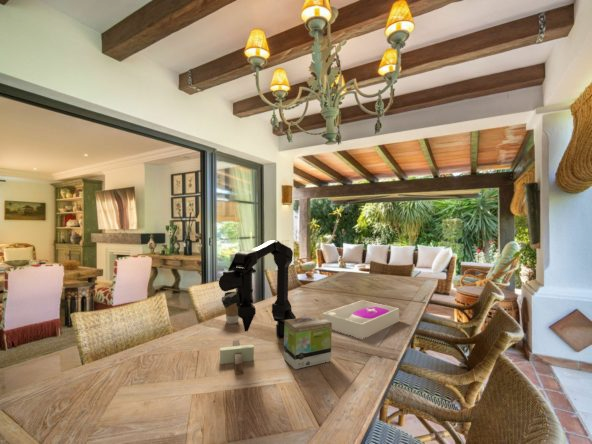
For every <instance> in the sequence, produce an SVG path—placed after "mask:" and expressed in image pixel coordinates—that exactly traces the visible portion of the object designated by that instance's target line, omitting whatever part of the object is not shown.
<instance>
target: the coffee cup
mask: <svg viewBox="0 0 592 444" xmlns="http://www.w3.org/2000/svg"><path fill="white" fill-rule="evenodd" d="M234 292H235V291H226V292H224V296H226V295H228V294H231V293H234ZM224 309H225V318H226V323H227V324H230V325H232V324H237V323H239V319H240V317H238V313H237V306H236V303H235V304H233V305H230V306H229V307H227V308H225V307H224Z"/></svg>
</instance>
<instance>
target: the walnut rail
mask: <svg viewBox="0 0 592 444" xmlns="http://www.w3.org/2000/svg"><path fill="white" fill-rule="evenodd" d="M233 346H241V343H240V339H239V340H232V347H233ZM233 364H234V365H233V366H234V372H235V375H241V374H244V361H243V359H242V353H236V354H234V363H233Z"/></svg>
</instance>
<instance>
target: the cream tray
mask: <svg viewBox="0 0 592 444" xmlns="http://www.w3.org/2000/svg"><path fill="white" fill-rule="evenodd" d="M321 317H322V318H324V319H326V320H328V321H330V322H331V323H332V331H334V330H335V331H334V332H337V331H338V332H337V333H340V332H342V333H341V334H343V333H345V334H344V335H346V334H348V335H347V336H349V335H351V336H350V337H352V336H354V337H353V338H355V337H357V338H356V339H358V338H360V339H359V340H361V339H362V340H364V339H366V338H368V337H370V336H372V335H374V334H377V333H379V332H381V331H382V330H384V329H386V328H388V327H391V326H393V325H395V324H396V323H398V322H399V323H400V308H399V307H395V306H390V305H385V304H381V303H376V302H371V301H367V300H364V299H363V300H358V301H356V302H352V303H349V304H346V305H343V306H339V307H337V308H333V309H331V310H328V311H325V312H322V316H321ZM365 337H366V338H365ZM363 338H364V339H363Z"/></svg>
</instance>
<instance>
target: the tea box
mask: <svg viewBox="0 0 592 444" xmlns="http://www.w3.org/2000/svg"><path fill="white" fill-rule="evenodd" d="M332 331H333V330H332V323H331V322H330V321H328V320H326V319H324V318H322V316H320V315H318V314H317V315H311V316H303V317H296V319H289V320H285V325H284V338H283V359H284V361H286V362H287V363H288V365H290V366H291V368H292V369H294V370H295V371H296V370H298V369H302V368H303V369H304V368H307V367H311V366H316V365H320V364H324V363H325V362H326V363H330V362H331V361H332V360H331V358H332ZM329 361H330V362H329Z"/></svg>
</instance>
